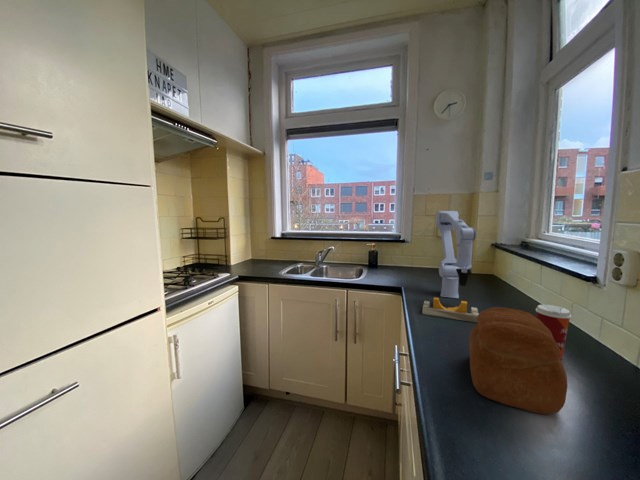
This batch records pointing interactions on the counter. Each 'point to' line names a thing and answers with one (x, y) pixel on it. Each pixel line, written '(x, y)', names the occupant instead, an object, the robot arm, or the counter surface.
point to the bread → (517, 361)
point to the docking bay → (451, 313)
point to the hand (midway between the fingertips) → (462, 285)
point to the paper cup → (555, 323)
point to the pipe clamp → (461, 308)
